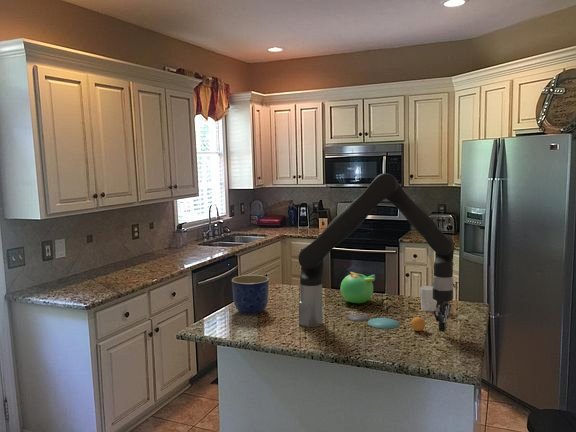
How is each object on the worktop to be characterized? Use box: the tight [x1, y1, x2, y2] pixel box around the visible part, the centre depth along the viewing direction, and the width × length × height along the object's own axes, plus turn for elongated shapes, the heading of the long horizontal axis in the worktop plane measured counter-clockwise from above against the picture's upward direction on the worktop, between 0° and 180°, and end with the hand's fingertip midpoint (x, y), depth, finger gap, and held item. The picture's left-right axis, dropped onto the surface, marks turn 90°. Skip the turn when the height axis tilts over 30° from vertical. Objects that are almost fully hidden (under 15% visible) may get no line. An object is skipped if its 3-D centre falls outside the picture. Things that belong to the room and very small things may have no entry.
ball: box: [410, 316, 426, 332], centre depth 187 cm, size 6×6×6 cm
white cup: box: [419, 285, 437, 312], centre depth 214 cm, size 8×8×10 cm
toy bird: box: [340, 271, 376, 304], centre depth 227 cm, size 18×17×15 cm
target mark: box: [367, 317, 400, 330], centre depth 196 cm, size 13×13×1 cm
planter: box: [231, 274, 270, 315], centre depth 214 cm, size 17×17×15 cm
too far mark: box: [347, 314, 370, 323], centre depth 204 cm, size 9×9×1 cm
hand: (442, 331), depth 181 cm, fingers closed
